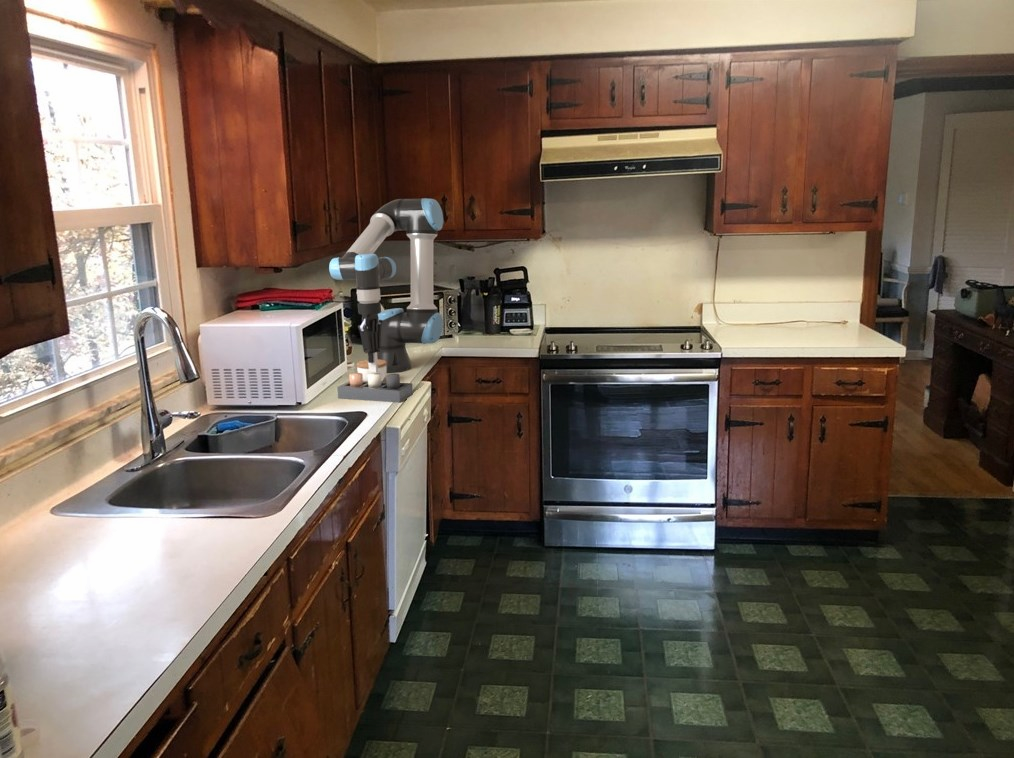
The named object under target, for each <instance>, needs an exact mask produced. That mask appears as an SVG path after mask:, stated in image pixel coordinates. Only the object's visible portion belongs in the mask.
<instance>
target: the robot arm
mask: <svg viewBox="0 0 1014 758" xmlns="http://www.w3.org/2000/svg"><path fill="white" fill-rule="evenodd" d="M443 214H444V213H443V210H442V207H441V206H440V204H439V202H438V201H437V200H436V199H435V198H426V197H424V198H398V199H394V200H391V201H389V202H387V203H386V204H384V205H382V206H381V207H380V208H379V209H378V210H377V211H375V212H374V214H372V216H371V217H370V220H369V224H368V225H367V227H366V228H365V229H364V230H363V232H362V233H361V234H360V235H359V236H358V237H357V238H356V240H355V242H353V244H352V245H351V246H350V248H348V250H347V251H346V252H345V253H344V255H343V256H342V257H339V256H338V257H333V258H332V259H331V260H330V262H329V265H328V266H329V267H328V270H329V271H328V272H329V273H330V274H329V275H330V276H331V278H332V279H334V280H337V281H339V280H340V281H355V282H356V296H357V299H356V300H357V302H358V303H357V312H358V314H359V315H361V324H359V325H358V326H357V328H358V331H359V334H360V340H361V344H362V349H363V352H364V354H367V360H368V365H369V372H378V360H377V359H380V360H385V361H386V362H387V372H386V374H390V373H400V372H405V371H408V370H410V369H411V368H412V361H411V358H410V356H409V354H408V350H407V347H406V344H423V345H426V344H435V343H436V342H438V341H439V339H440V338H441V336H442V334H443V333H442V331H443V327H444V319H443V316H442V313H439V312H438V307H437V306H436V305H435V304H434V240H435V239H436V237H437V236H438V231H441V230H442V229H443V225H444V215H443ZM398 231H405V232H406V236H407V238H409V241H410V304H409V305H408V306H407V307H406V312H405V310H404V308H402V307H401V308H400V307H398V308H397V307H395V308H390V309H389V308H388V309H383V310H382V303H381V289H380V287H381V284H380V282H381V281H385V280H386V281H388V280H389V279H391V278H393V277H394V276H395V275H396V273H397V264H396V262H395V261H394V259H392V258H390V257H387V256H381V257H378V255H377V254H376V251H377V249H378V248H379V247H380V246H381V244H382V243H383V242H384V240H386V238H387V237H389V236H392V234H393V233H394V232H398Z"/></svg>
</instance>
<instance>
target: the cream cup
mask: <svg viewBox="0 0 1014 758" xmlns="http://www.w3.org/2000/svg"><path fill="white" fill-rule="evenodd" d="M381 386H382V385H381V374H380V373H370V374H368V387H374V388H379V387H381Z"/></svg>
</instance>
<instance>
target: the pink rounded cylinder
mask: <svg viewBox="0 0 1014 758" xmlns="http://www.w3.org/2000/svg"><path fill="white" fill-rule="evenodd" d="M348 375H349V376H348V377H349V378H348V379H349V381H350V386H358V387H360V386H362V385H363V376H362V373H358V372H351V373H349V374H348Z"/></svg>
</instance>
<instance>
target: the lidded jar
mask: <svg viewBox="0 0 1014 758" xmlns="http://www.w3.org/2000/svg"><path fill="white" fill-rule="evenodd" d="M377 360H378V372H369V365H368V359H364V360H359V361H357V363H356V368H357V369H356V370H357V373H362V376H363V381H368V374H370V373H380V374H381V382H384V380H385V379H386V375H387V373H386V372H387V362H386V361H385V360H380V359H377Z"/></svg>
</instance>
